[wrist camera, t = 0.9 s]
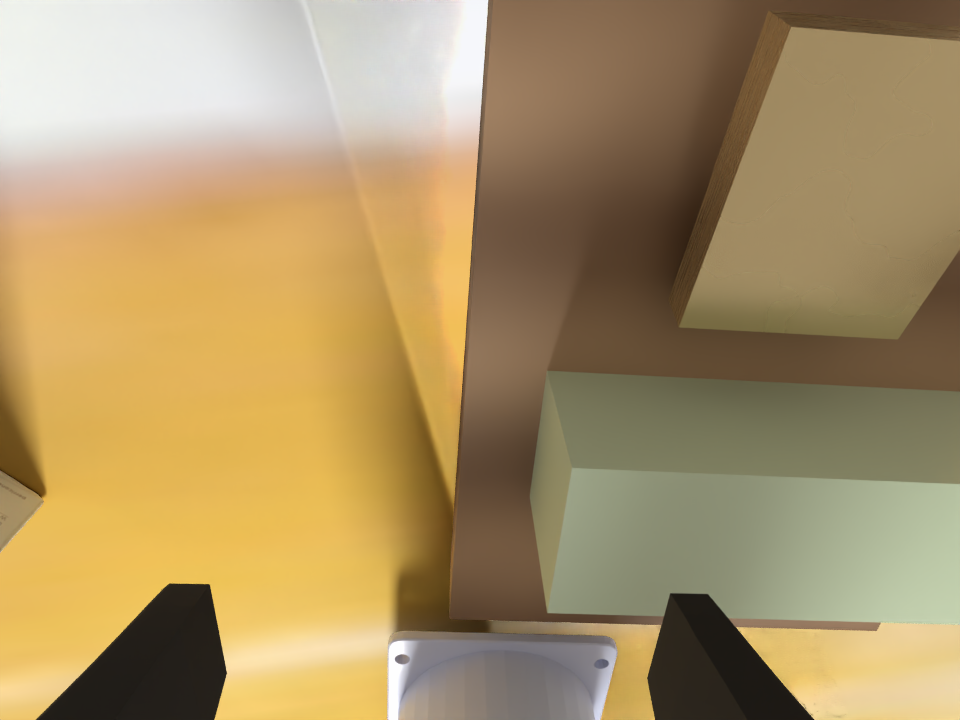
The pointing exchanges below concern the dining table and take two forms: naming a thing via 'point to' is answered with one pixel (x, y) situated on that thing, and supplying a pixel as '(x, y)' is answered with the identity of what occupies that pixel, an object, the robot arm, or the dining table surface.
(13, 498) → the supplement box
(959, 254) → the panel
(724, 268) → the tan flat block
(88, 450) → the dining table surface
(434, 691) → the robot arm
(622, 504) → the light green rectangular bar
